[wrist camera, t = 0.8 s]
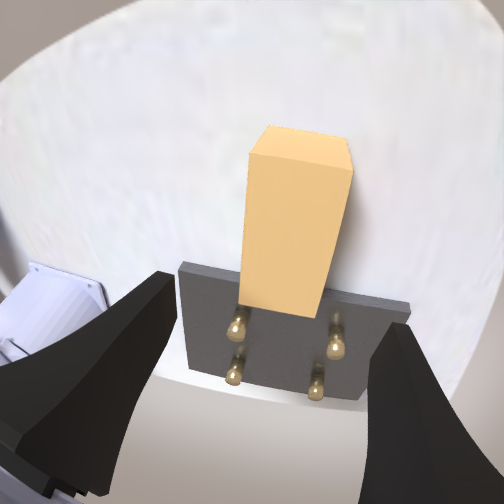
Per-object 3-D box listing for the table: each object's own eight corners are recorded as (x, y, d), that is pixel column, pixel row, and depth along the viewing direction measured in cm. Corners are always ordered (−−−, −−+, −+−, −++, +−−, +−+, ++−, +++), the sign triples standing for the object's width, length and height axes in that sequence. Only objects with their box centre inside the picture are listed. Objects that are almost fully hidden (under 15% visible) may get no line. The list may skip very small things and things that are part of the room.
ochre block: (256, 249, 21) (238, 303, 17) (269, 124, 16) (249, 153, 12) (319, 260, 20) (314, 318, 16) (345, 137, 16) (353, 170, 12)
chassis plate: (192, 360, 29) (182, 385, 27) (183, 261, 22) (166, 289, 20) (357, 391, 28) (356, 418, 25) (408, 302, 20) (415, 335, 18)
